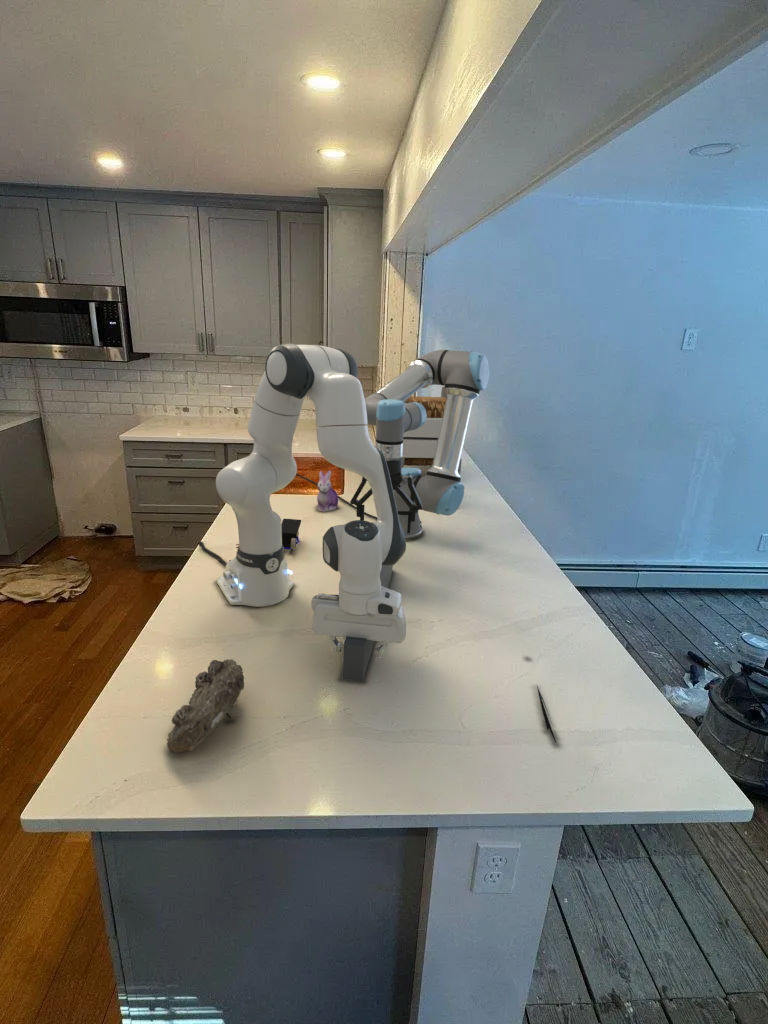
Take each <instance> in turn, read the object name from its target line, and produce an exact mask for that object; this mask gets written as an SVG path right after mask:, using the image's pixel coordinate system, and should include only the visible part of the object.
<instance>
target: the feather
mask: <svg viewBox="0 0 768 1024" xmlns="http://www.w3.org/2000/svg"><path fill="white" fill-rule="evenodd" d="M527 659H529V657H527ZM536 688H537V692H538V697H539V703H540V706H541V711H542V715H543V719H544V722H545V727H546V731H549V732H550V734H551V737H552V738H553V740H554V742H555V743H557V740H556V738H555V735H554V732H553V729H555V728H556V727H555V725H553V726H551V724H553V720H552V718H551V714H550V713H549V711H548V708H547V705H546V703H545V701H544V698H543V696H542V694H541V691H540V689H539V687H538V686H536ZM550 722H551V723H550ZM552 727H553V729H552Z"/></svg>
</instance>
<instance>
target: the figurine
mask: <svg viewBox="0 0 768 1024" xmlns="http://www.w3.org/2000/svg"><path fill="white" fill-rule="evenodd" d="M318 473H319V475H318V476H319V481H318V482H317V484H318V485H316V486H317V490H318V493H317V495H316V502H317V506H316V508H317V511H319V512H331V511H335V510H336V509H338V506H339V498H338V496H339V494H338V493H337V491H336V490H335V489H334V488H332V487H333V485H332V482H331V480H330V479H331V476H332V470H330V469H329V470H328V471H327V472H326V474H325V473H324V472H323V471H322V470H320V471H319V472H318Z"/></svg>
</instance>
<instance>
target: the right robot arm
mask: <svg viewBox="0 0 768 1024" xmlns="http://www.w3.org/2000/svg"><path fill="white" fill-rule="evenodd" d="M489 380H490V366H489V361H488V358H487V356H485V354H484V353H481V352H475V351H473V350H472V351H471V350H470V351H466V350H451V349H438V350H437V349H436V350H432V351H430V352H427V353H425V354H422V355H421V356H419V357H417V358H416V359H414V360H413V361H411V362H410V363H409V364H408V366H407V368H406V369H405V370H403V372H401V373H400V374H398V375H396V376H395V377H393V379H391V380H390V381H389V382H387V383H386V384H384V385H383V386H381V387H380V388H379V389H378V390H376V391H374V392H373V393H372V394H370V395H369V396H368V397H364V398H365V403H366V410H367V420H368V425H367V426H369V425H370V426H375V444H374V446H375V448H377V449H379V450H381V451H382V453H383V455H384V457H385V459H386V462H387V466H388V470H389V474H390V478H391V483H392V488H393V492H394V497H395V502H396V507H397V511H398V516H399V520H400V523H401V526H402V529H403V532H404V536H405V541H410V540H415V539H418V538H420V537H421V536H422V535H423V523H422V520H421V518H420V515H419V510H420V511H425V512H429V513H433V514H436V515H442V516H452V515H453V514H455V513H456V512H457V510H458V509H459V508H460V506H461V504H462V502H463V499H464V496H465V485H464V483H462V482H461V479H462V477H461V474H460V475H459V474H458V467H459V462H460V458H462V453H463V448H464V443H465V439H466V434H467V430H468V424H469V420H470V416H471V411H472V406H473V402H474V400H475V399H477V398H478V397H479V396H480V392H481V391H484V390H486V389H487V387H488V385H489ZM436 385H437V386H442V387H444V391H445V392H446V394H447V400H446V404H445V409H444V414H443V418H442V423H441V428H440V432H439V437H438V442H437V446H436V451H435V456H434V461H433V465H431V466H430V467H429V468H428V469H427V470H426V472H425V475H424V474H422V470H421V468H419V467H413V466H411V467H409V466H406V467H404V468H402V459H401V457H402V454H403V435H404V432H407V431H411V430H416V429H417V428H419V427H421V426H422V425H423V424H424V423H425V421H426V418H427V413H426V410H425V408H424V407H423V405H421V404H420V403H417V402H410V403H404V401H405V400H406V399H408V398H409V397H410V396H413V395H414V394H415V393H416V392H418V391H419V390H421V389H426V388H429V386H436ZM296 477H299V478H301V479H303V480H305V481H307V482H308V483H309V482H310V483H311V484H313V485H316V486H317V485H318V482H314V481H313V480H311V479H309V478H307V477H305V476H303V475H300V474H298V473H296ZM361 477H362V478H361V482H360V483H359V485H358V487H357V489H356V490H355V493H354V494H353V496H352V498H351V500H350V501H347V500H345V499H344V498H343V497H342V496H339V495H338V500H340V501H342V502H344V503H345V504H347V505H349V506H350V507H351V508H353V509H355V510H356V514H355V516H356V517H357V518H359V520H364V521H365V516H367V517H370V518H372V519H375V520H377V516H375V515H372V514H370V513H368V512H365V504H364V503H365V502H366V501H367V500H368V499H369V498H370V497H371V496H373V494H372V489H371V488H369V489H368V490H367V491H366V492H365V494H363V495H362V497H361V498H359V499H358V497H359V496H360V495H361V493H362V491H363V489H364V487H365V486H366V484H367V483H368V481H367V480H366V479H365V478H364V477H363V476H361Z"/></svg>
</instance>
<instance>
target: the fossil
mask: <svg viewBox="0 0 768 1024" xmlns="http://www.w3.org/2000/svg"><path fill="white" fill-rule="evenodd" d="M243 670H244V669H243V667H242V665H240V664H237V662H236V661H235V660H234V659H232V658H231V659H227V658H226V659H224V660H223V661H222V660H217V659H212V660H211V661H210V663H209V665H208V666H207V671H201V672H199V673H198V674H197V675H196V676H195V680H194V684H195V685H194V687H195V689H194V690H193V693H192V694H191V697H190V698H189V700H188V704H184V705H182V706H181V707H180V709H177V710H176V711H175V713H174V715H173V716H172V718H171V723H172V724H173V727H172V730H171V731H170V732H168V734H167V738H166V741H167V742H166V745H167V749H168V750H169V751H173V752H174V753H176V754H178V753H182V752H188V751H189V752H192V751H193V750H195V748H196V747H197V746H199V744H200V743H201V742H203V741H204V740H205V739H206V738H207V737H208V736H209V735H210V734H211V733H212V732H214V730H215V729H217V727H218V726H219V724H220V722H221V721H222V720H223V719H224V718H225V716H226V717H227V719H229V720H233V717H232V715H230V714H229V710H230V709H231V708H234V706H235V704H236V703H237V702H238V699H239V697H240V695H241V693H242V691H243V690H245V689H244V688H245V675H244V671H243Z"/></svg>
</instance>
